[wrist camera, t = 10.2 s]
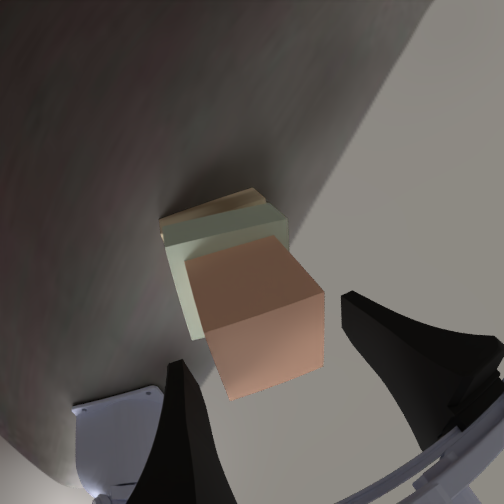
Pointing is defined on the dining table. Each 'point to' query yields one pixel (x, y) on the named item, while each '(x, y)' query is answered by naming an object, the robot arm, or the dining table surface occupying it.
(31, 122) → the dining table surface
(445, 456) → the robot arm
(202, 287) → the terracotta block
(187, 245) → the tower top block
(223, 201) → the tower base block
